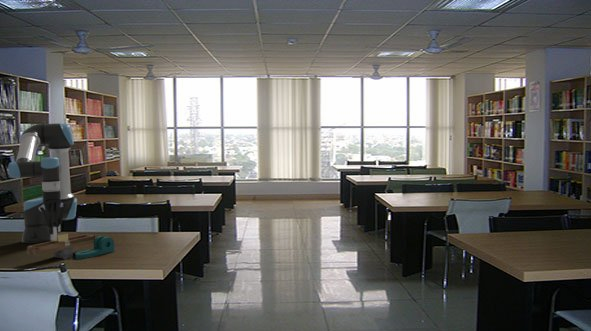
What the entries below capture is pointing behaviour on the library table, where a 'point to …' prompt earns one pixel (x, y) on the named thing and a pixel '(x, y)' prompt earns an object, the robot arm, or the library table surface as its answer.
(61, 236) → the block
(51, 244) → the brown long open piece
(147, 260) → the library table surface
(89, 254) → the bracket
